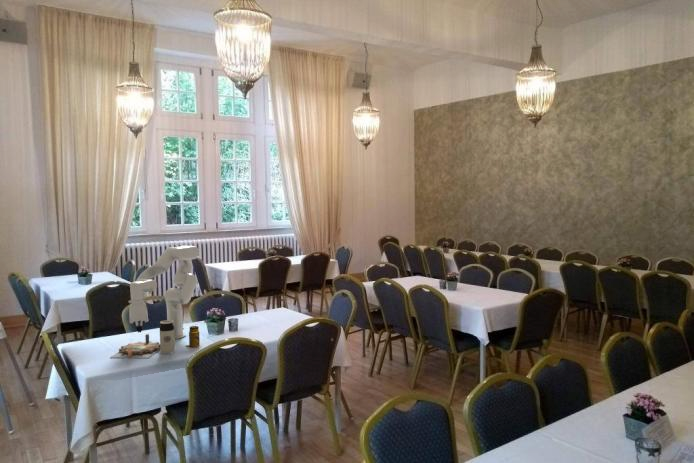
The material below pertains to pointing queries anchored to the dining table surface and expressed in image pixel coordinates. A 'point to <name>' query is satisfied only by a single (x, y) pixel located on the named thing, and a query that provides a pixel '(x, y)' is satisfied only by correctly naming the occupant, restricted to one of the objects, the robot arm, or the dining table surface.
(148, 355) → the turntable base
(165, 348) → the travel mug
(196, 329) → the condiment
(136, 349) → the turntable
